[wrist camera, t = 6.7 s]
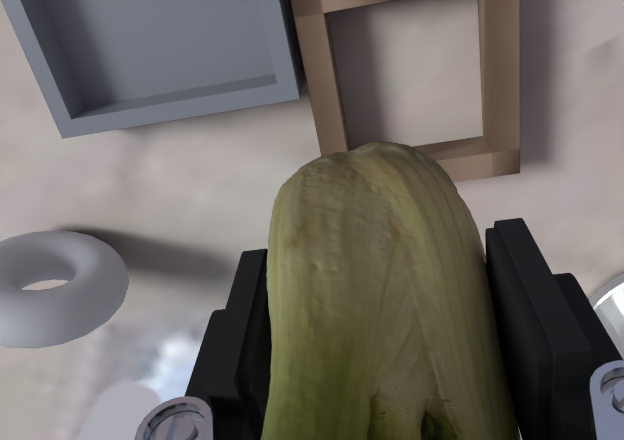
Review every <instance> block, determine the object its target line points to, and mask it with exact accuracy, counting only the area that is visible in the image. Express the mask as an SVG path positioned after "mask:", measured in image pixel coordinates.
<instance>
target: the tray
mask: <svg viewBox="0 0 624 440" xmlns="http://www.w3.org/2000/svg"><path fill="white" fill-rule="evenodd" d="M1 1H2V4H3V6H4V8H5V10H6V13H7V15H8V17H9V19H10V22H11V24H12V26H13V28H14V31H15V33H16V35H17V37H18V40H19V42H20V44H21V47H22V49H23V51H24V53H25V56H26V58H27V60H28V62H29V65H30V67H31V69H32V71H33V74H34V76H35V78H36V80H37V83H38V85H39V87H40V89H41V92H42V94H43V96H44V98H45V101H46V103H47V105H48V107H49V110H50V112H51V114H52V116H53V119H54V121H55V123H56V125H57V128H58V130H59V132H60V134H61V137H62V139H63V138H69V137H75V136H81V135H87V134H93V133H99V132H105V131H111V130H117V129H123V128H129V127H135V126H141V125H147V124H153V123H159V122H165V121H171V120H177V119H183V118H189V117H195V116H201V115H207V114H213V113H219V112H225V111H231V110H237V109H243V108H249V107H255V106H261V105H267V104H273V103H279V102H285V101H291V100H297V99H300V96H301V92H302V89H303V85H304V80H303V75H302V70H301V65H300V60H299V55H298V50H297V45H296V40H295V35H294V30H293V25H292V20H291V15H290V10H289V5H288V0H1Z"/></svg>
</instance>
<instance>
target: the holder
mask: <svg viewBox="0 0 624 440" xmlns="http://www.w3.org/2000/svg"><path fill="white" fill-rule="evenodd" d="M384 1H389V0H291V4H292V9H293V15H294V20H295V25H296V30H297V35H298V40H299V45H300V50H301V55H302V60H303V65H304V70H305V75H306V80H307V85H308V90H309V95H310V101H311V106H312V111H313V116H314V121H315V126H316V131H317V136H318V141H319V146H320V151H321V156H325V155H329V154H332V153H335V152H346V151H350V146H349V140H348V134H347V128H346V122H345V116H344V111H343V105H342V99H341V93H340V87H339V81H338V75H337V69H336V63H335V57H334V51H333V45H332V39H331V33H330V27H329V22H328V16H327V12H332V11H337V10H342V9H347V8H353V7H358V6H363V5H368V4H374V3H379V2H384ZM478 16H479V42H480V68H481V94H482V120H483V136H482V137H475V138H468V139H462V140H455V141H448V142H441V143H435V144H428V145H421V146H414V147H413V148H415V149H417V150H419V151H421V152H423V153H425V154H426V155H428V156H429V157H431V158H433V159H434V160H435V161H436V162H437V163H439V165H440V166H441V167H442V168H443V169H444V170H445V171H446V173H447V174H448V175H449V177H450V178H451V180H452V182H458V181H465V180H473V179H480V178H487V177H495V176H502V175H509V174H517V173H520V40H519V0H478Z"/></svg>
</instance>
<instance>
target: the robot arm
mask: <svg viewBox="0 0 624 440" xmlns="http://www.w3.org/2000/svg"><path fill="white" fill-rule="evenodd" d="M485 237H486V267H487V273H488V276H489V282H490V289H491V293H492V298H493V303H494V312H495V318H496V324H497V330H498V337H499V343H500V349H501V353H502V356H503V360H504V365H505V369H506V373H507V378H508V383H509V388H510V391H511V396H512V400H513V404H514V411H515V416H516V418H517V422H518V427H519V430H520V433H521V436H522V439H523V440H624V273H622V274H620V275H618V276H617V277H615V278H613V279H612V280H611V281H609V282H608V283H607V284H605V285H604V286H603V287H601V288H600V289H599V290H598V291H597V292H596V293H595V294H594V295H593V296H592V297H591V298H590V299H589V300H588V299H587V297H586V295H585V293H584V292H583V290H582V288H581V287H580V285H579V283H578V281H577V280H576V278H575V277H574V276H573V274H571V273H563V274H552V272H551V271H550V269H549V267H548V265H547V263H546V261H545V259H544V257H543V256H542V254H541V252H540V250H539V248H538V246H537V244H536V242H535V241H534V239H533V237H532V235H531V233H530V231H529V229H528V227H527V226H526V224H525V222H524V220H523V219H522V218H516V219H508V220H500V221H495V223H494V228H488V229H486V233H485ZM267 253H268V250H267V249H259V250H251V251H244V252H242V255H241V258H240V261H239V265H238V268H237V271H236V275H235V278H234V282H233V285H232V288H231V292H230V295H229V298H228V302H227V305H226V309H222V310H215V311H214V312H213V313H212V315H211V317H210V320H209V323H208V326H207V329H206V332H205V335H204V338H203V341H202V344H201V347H200V350H199V353H198V357H197V360H196V363H195V366H194V369H193V372H192V375H191V378H190V381H189V384H188V387H187V390H186V393H185V396H184V397H178V398H174V399H171V400H169V401H166V402H164V403H162V404H161V405H159V406H157V407H156V408H154V409H153V410H152V411H151V412H150V413H149V414H148V415H147V416H146V417H145V418H144V419H143V421H142V422H141V424H140V425H139V427H138V429H137V433H136V436H135V440H261V436H262V431H263V427H264V420H265V413H266V408H267V403H268V398H269V391H270V389H269V386H270V380H271V372H270V369H271V352H272V339H271V321H270V315H269V306H268V291H267V276H266V274H267Z"/></svg>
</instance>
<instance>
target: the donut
mask: <svg viewBox="0 0 624 440" xmlns="http://www.w3.org/2000/svg"><path fill="white" fill-rule="evenodd" d="M53 279H56V280H67V281H69V282H67V283H65V284H64V285H61V286H57V287H54V288H51V289H44V290H22V288H24V287H26V286H28V285H30V284H33V283H36V282H39V281H45V280H53ZM128 284H129V279H128V274H127V270H126V266H125V262H124V260H123V259H122V258H121V256H120V255H119V254H118V253H117V252H116V251H115V250H114V249H113V247H112V246H110V245H108V244H106V243H104V242H103V241H101V240H99V239H97V238H95V237H93V236H90V235H86V234H82V233H77V232H70V231H43V232H32V233H28V234H24V235H19V236H15V237H11V238H8V239H6V240H3V241H1V242H0V346H4V347H9V348H42V347H48V346H53V345H59V344H63V343H66V342H69V341H71V340H74V339H77V338H79V337H82V336H85V335H87V334H89V333H90V332H92V331H93V330H95V329H96V328H98V327H99V326H101V325H102V324H104V323H106V322H107V321H108V320H109V319H110V318H111V317H112V316H113V314H114V313H115V312H116V311H117V310H118V309H119V308H120V306H121V305H122V303H123V301H124V298H125V295H126V292H127V289H128Z"/></svg>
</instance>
